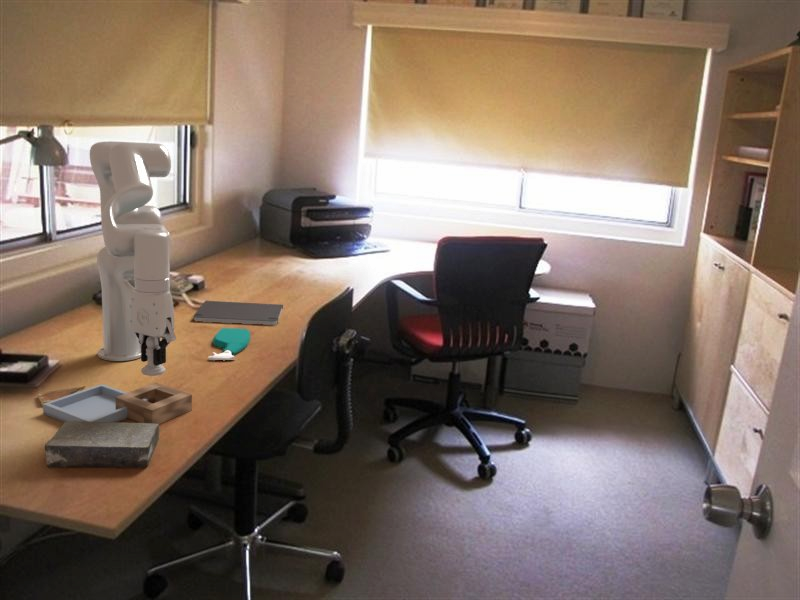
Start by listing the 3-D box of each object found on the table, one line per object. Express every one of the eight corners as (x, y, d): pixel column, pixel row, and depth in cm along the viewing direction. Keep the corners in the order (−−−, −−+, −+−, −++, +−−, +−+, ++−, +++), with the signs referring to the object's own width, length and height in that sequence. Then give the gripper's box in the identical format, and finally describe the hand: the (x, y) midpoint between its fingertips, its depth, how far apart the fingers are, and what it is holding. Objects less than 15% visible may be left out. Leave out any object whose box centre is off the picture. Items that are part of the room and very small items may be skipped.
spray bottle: (252, 337, 229) (241, 365, 205) (217, 335, 228) (202, 363, 204) (252, 328, 228) (241, 355, 204) (217, 327, 227) (202, 353, 203)
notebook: (282, 310, 263) (205, 306, 260) (283, 304, 262) (205, 300, 260) (277, 327, 242) (192, 323, 239) (277, 320, 241) (192, 316, 239)
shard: (85, 391, 178) (85, 384, 178) (92, 402, 172) (92, 395, 172) (37, 398, 172) (37, 391, 172) (43, 410, 166) (42, 402, 166)
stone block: (148, 469, 143) (148, 446, 142) (44, 469, 140) (42, 445, 139) (161, 440, 156) (161, 418, 155) (66, 439, 153) (65, 417, 152)
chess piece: (165, 367, 169) (164, 331, 167) (165, 375, 164) (165, 338, 162) (141, 369, 168) (140, 332, 165) (141, 377, 163) (140, 339, 160)
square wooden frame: (155, 397, 176) (155, 382, 175) (191, 410, 171) (191, 394, 170) (115, 413, 166) (115, 397, 165) (152, 426, 161) (152, 410, 160)
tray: (102, 393, 177) (102, 383, 176) (148, 409, 169) (148, 399, 169) (43, 414, 163) (42, 403, 162) (90, 432, 156) (90, 422, 155)
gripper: (113, 281, 161) (115, 358, 166) (165, 294, 154) (166, 374, 158) (139, 276, 168) (141, 350, 172) (191, 288, 160) (191, 365, 165)
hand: (153, 361), depth 165 cm, fingers closed on chess piece, 3 cm apart
